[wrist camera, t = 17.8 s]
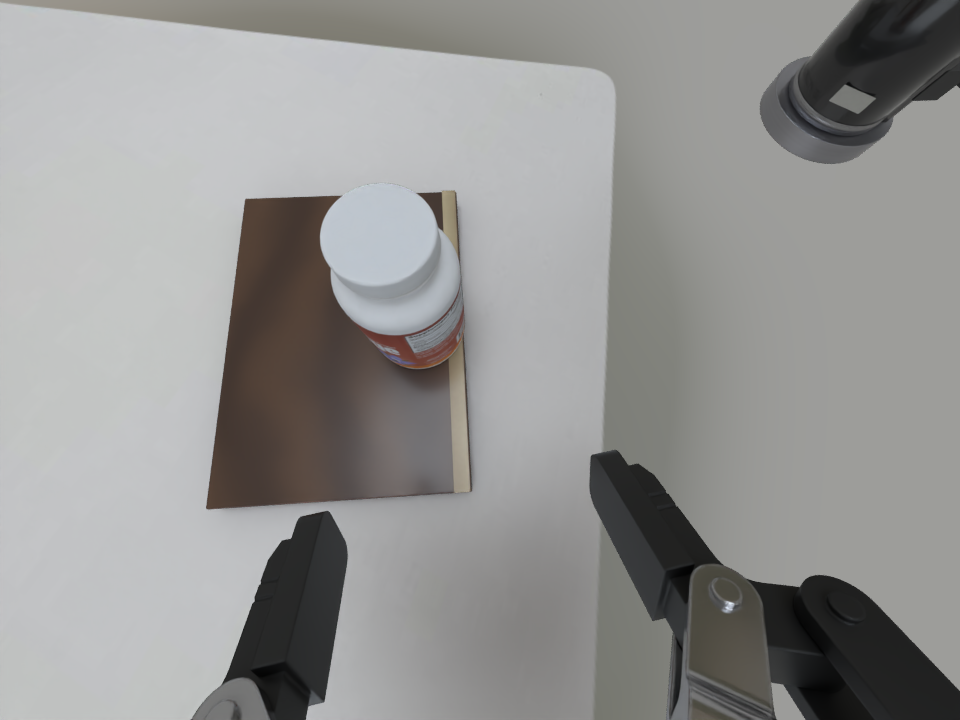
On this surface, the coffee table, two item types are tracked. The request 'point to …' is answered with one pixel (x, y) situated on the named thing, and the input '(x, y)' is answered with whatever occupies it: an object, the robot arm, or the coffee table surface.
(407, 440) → the board
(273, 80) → the coffee table surface
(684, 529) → the robot arm
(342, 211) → the pill bottle
